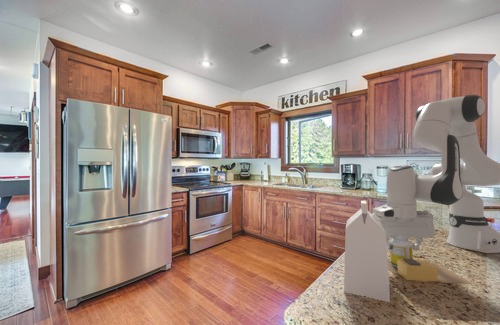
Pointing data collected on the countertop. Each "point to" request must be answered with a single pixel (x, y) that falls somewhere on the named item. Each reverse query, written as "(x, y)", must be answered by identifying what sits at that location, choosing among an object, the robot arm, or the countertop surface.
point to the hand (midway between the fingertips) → (402, 249)
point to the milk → (366, 256)
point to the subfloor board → (443, 275)
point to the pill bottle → (400, 249)
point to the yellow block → (417, 270)
